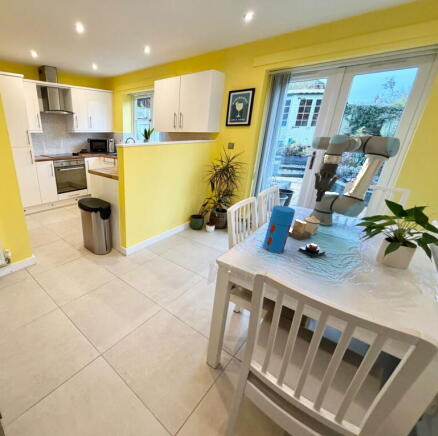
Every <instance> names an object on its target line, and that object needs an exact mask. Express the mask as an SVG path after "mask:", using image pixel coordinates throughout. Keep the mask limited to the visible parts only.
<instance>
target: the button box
mask: <svg viewBox="0 0 438 436" xmlns="http://www.w3.org/2000/svg"><path fill="white" fill-rule="evenodd" d="M309 246H310V243H307V244H306V245H305V246H300V247H299V248H298V252H299V253H302V254H304V255H306V256H307V257H309V258H311V259H313V258H317V257H321V256H325V254H326V251H324V250H323V249H321V247H320V246H318V247H317V249H314V248H311V247H309Z"/></svg>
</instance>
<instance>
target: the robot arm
mask: <svg viewBox="0 0 438 436" xmlns="http://www.w3.org/2000/svg"><path fill="white" fill-rule="evenodd" d="M311 146H312V147H311V148H312V149H315V150H322V151H323V150H324V151H326V152H325V155H324V157H323V162H322V164H321V166H320V167H321V168H320V170H319V171H317V172H315V173H314V177H315V180H314V189H315V190H316V194H315V196H316V198H315V204H314V205H315V206H314V208H313V211H311V213H310V214H309V216H308V217H307V218H309V217H312V216H314V217H315V218H316V219H317V220H319V221H320V224H319V226H332V225H333V222H334V221H333V214H334V213H335V214H339V215H342V216H345V217H348V218H356V217H358V216H359V215H360V214H362V213H363V211H364V209H366V203H365V198H364V196H365V194H366V193H367V191H368V189H369V188H370V186H371V184H372V182H373V181H374V179H375V178H376V175H377V174H378V173H379V170H380V169H381V167H382V166H383V164H384V163H385V162H388V161H389V159H390V158H394V157H396V156H397V154H398V153H399V151H400V147H401V140H400V139H399V137H396V136H395V137H394V136H375V135H364V136H352V137H349V135H348V134H335V133H334V134H332V135H331V136H316V137H314V138H313V141H312V144H311ZM350 152H351V153H356V154H361V155H364V157H365V161H364V163H363V164H362V166H361V167H360V170H359V171H358V173H357V174H356V176H355V179H354V180H353V182H352V183H351V185H350V187H349V189H348V191H347V192H346V193H343V194H342V196H340V193H338V192H331V190H332V188H333V187H334V185H335V184H336V182H337V181H338V180H339V179H340V178H341V177H340V176H338V175H337V170H338V168H339V166H340V165H339V164H340V162H341V159H342V156H343V154H344V153H350Z"/></svg>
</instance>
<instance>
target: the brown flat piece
mask: <svg viewBox="0 0 438 436" xmlns="http://www.w3.org/2000/svg"><path fill="white" fill-rule="evenodd" d="M311 234H312V233H309V232H307V231H305V232H304V233H303V234H301V233H299V232H297V231H295V230H293V227H290V231H289V234H288V237H290V238H292V239H294V240H297V241H300V240H304V239H305V240H306V239H311V236H312V235H311Z"/></svg>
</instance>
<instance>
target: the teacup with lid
mask: <svg viewBox="0 0 438 436" xmlns="http://www.w3.org/2000/svg"><path fill="white" fill-rule="evenodd" d="M308 217H309V216H308ZM308 217H304V218H303V222H305V223H307V226H306V229H305V231H307V232H309V233H312V234H311V236H313V235H314V236H315V235H316V234H317V233H318V229H319V226H320V225H319V224H320V221H319V220H317V219H316V218H315V217H314V216H312V217H309V218H308Z"/></svg>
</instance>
